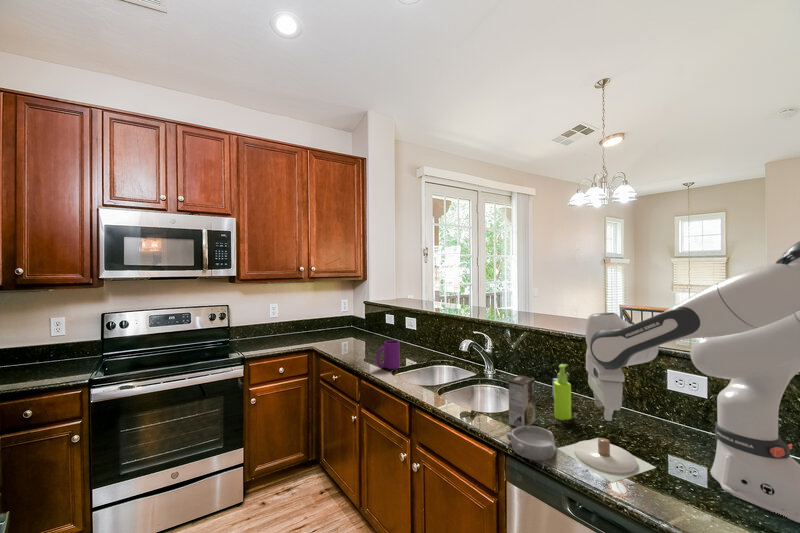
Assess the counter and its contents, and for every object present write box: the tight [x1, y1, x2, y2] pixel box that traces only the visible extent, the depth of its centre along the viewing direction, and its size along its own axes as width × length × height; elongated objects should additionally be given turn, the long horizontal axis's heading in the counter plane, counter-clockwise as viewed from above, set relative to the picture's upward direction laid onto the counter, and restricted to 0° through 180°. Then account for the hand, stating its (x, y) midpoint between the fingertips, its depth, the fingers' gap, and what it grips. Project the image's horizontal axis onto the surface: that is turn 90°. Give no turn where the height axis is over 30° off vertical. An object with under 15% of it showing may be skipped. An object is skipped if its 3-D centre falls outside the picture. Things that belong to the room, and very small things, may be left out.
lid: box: [574, 437, 637, 474], centre depth 99 cm, size 16×16×5 cm
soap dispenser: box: [553, 363, 572, 421], centre depth 127 cm, size 6×7×20 cm
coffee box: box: [507, 374, 536, 428], centre depth 123 cm, size 9×6×16 cm
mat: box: [556, 437, 657, 483], centre depth 99 cm, size 18×18×1 cm
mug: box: [375, 339, 401, 370], centre depth 193 cm, size 9×16×15 cm, turn 129°
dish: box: [506, 425, 557, 461], centre depth 104 cm, size 14×14×5 cm
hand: (602, 412), depth 99 cm, fingers open, 8 cm apart
